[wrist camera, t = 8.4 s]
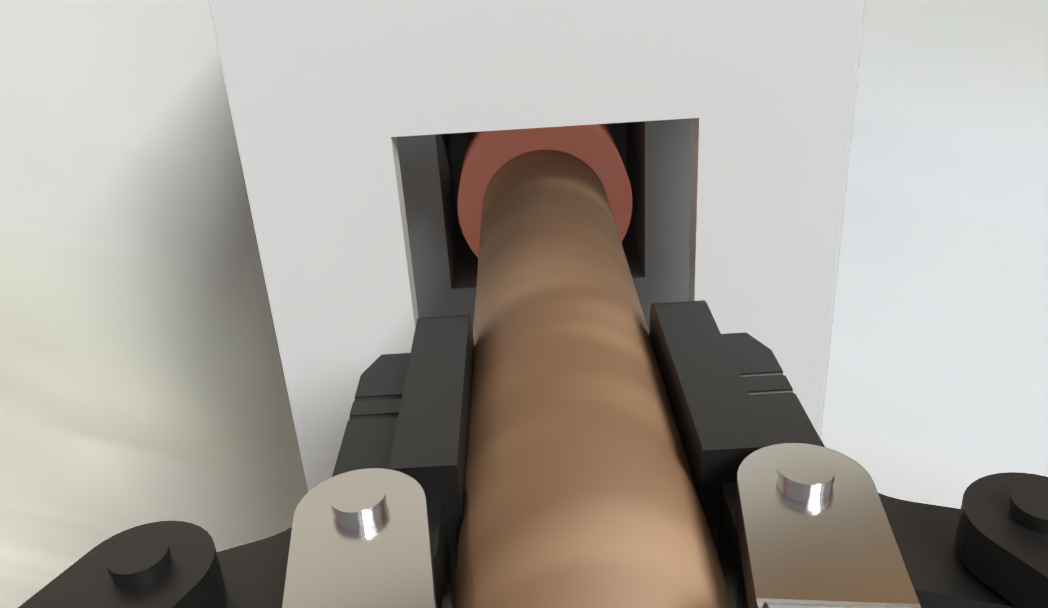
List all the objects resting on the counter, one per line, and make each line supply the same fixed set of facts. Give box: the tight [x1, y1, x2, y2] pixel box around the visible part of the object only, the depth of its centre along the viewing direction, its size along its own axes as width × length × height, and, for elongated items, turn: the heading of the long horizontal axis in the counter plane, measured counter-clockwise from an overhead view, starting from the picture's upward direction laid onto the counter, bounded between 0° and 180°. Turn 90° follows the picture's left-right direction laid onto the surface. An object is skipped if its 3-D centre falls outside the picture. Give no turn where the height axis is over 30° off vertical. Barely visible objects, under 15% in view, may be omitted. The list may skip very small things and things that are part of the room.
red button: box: [457, 124, 633, 257], centre depth 20 cm, size 4×4×3 cm
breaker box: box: [208, 0, 865, 492], centre depth 19 cm, size 10×10×8 cm
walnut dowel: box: [454, 150, 734, 608], centre depth 13 cm, size 3×3×13 cm
